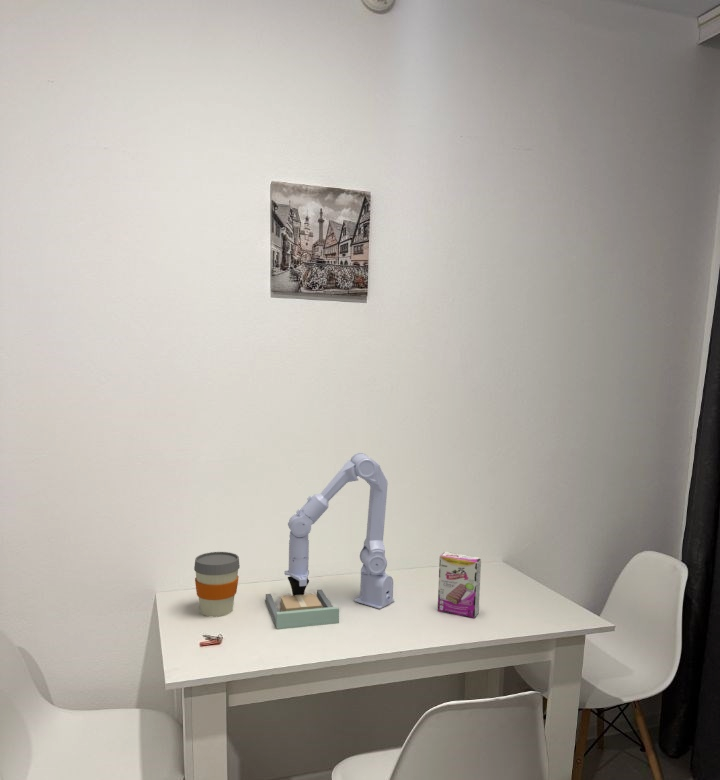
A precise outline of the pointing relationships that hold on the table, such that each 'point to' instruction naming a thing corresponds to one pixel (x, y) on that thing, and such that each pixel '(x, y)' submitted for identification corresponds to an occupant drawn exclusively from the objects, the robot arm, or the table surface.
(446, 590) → the candy bar box
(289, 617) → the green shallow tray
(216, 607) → the reusable coffee cup
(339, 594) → the table surface
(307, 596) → the carton
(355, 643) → the table surface
